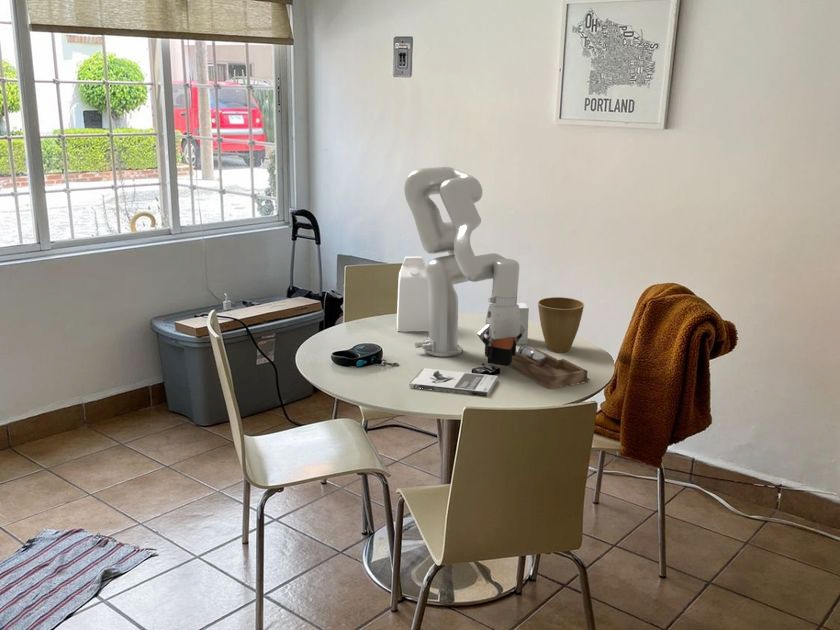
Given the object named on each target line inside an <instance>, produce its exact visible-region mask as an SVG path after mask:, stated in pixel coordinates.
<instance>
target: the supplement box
mask: <svg viewBox="0 0 840 630" xmlns="http://www.w3.org/2000/svg"><path fill="white" fill-rule="evenodd" d="M517 304H518V305H519V310H520V325H522V326H523V327H524V328H525V329H526V331H525V332H524V333H523V334H522V337H521V338H520V339H519V340H518V343H516V345H517V344H518V345H520V344H521V345H527V344H528V339H529V338H528V336H529V335H528V333H529V332H528V331H529V306H528V305H527V302H517Z"/></svg>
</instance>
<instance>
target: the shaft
mask: <svg viewBox="0 0 840 630" xmlns="http://www.w3.org/2000/svg"><path fill="white" fill-rule="evenodd" d="M533 348H534V347H531V346H529V345H527V344H521V346H519V348H518V351H517V352H518V353H520V354H522V355H524V356H526V357H528V358H530V359H531V360H533V361H535V362H537V363H539V364H540V366H543V365H544V364H545V363H546V360H547V358H546V356H545V355H544V354H542V353H540V352H538V351H536V350H534V349H533Z"/></svg>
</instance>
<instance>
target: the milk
mask: <svg viewBox="0 0 840 630" xmlns="http://www.w3.org/2000/svg"><path fill="white" fill-rule="evenodd" d="M426 267H427V265H426V263H425V261H424V259H423V257H422V256H405V257H404V258H403V262H402V265H401V267H400V269H399V271H398V280H397V281H398V283H397V303H396V307H397V309H396V328H397V329H398V330H397V329H396V330H397V332H398V331H427V332H429V290H428V283H427V278H426Z"/></svg>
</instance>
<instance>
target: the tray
mask: <svg viewBox="0 0 840 630" xmlns="http://www.w3.org/2000/svg"><path fill="white" fill-rule="evenodd" d="M532 348H533V349H534V350H536V351H538V352H540V353H542V354H544V355H545V356H546V358H547V360H546V363H545V364H544V365H543V366H540V364H539V363H537V362H535V361H533V360H531V359H530V358H528V357H526V356H524V355H522V354H520V353H518V351H516V352H515V356H513V355H512V362H511V363H510V365H509V366H508V367H510V368H512V369H513V370H515V371H517V372H519V373H520V374H522V375H524V376H526V377H527V378H530V379H531V380H533V381H535V382H537V383H538V384H540V385H542V386H543V387H545V388H547V389H549V390H551V389H556V387H557V388H561V387H560V386H563V387H567V386H566V385H568V386H573V385H572V384H574V385H577V383H579V384H583V383H582V382H585V383H589V382H590V377H588V373H589V371H588V370H586V369H585V368H582V366H579V365H577V364H575V363H572V362H571V361H568V360H566V359H565V358H561V359H558V358H556V357H553V356H552V355H549V354H548V353H546V352H544V351H542V350H539V349H537V348H536V347H532ZM588 381H589V382H588Z"/></svg>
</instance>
